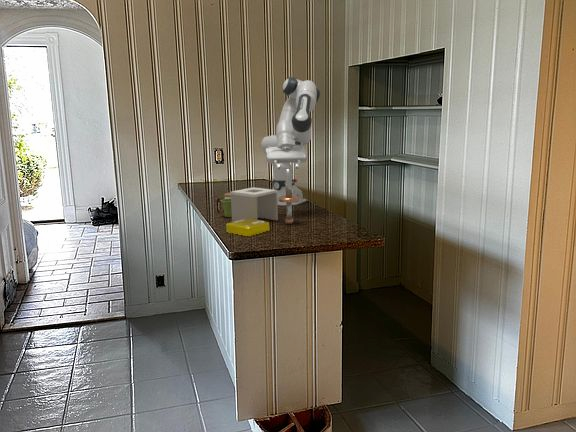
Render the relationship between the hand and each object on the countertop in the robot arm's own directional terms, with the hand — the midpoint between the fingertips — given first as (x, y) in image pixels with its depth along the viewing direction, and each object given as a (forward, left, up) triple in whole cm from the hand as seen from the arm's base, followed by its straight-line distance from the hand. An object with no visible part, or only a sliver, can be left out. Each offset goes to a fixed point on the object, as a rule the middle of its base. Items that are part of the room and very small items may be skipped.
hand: (287, 168), depth 257 cm
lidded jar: (-6, -44, -25) cm, 51 cm away
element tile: (+32, +2, -26) cm, 41 cm away
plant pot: (+13, -28, -25) cm, 40 cm away
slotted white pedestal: (+14, -10, -25) cm, 31 cm away
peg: (+8, +7, -25) cm, 28 cm away
